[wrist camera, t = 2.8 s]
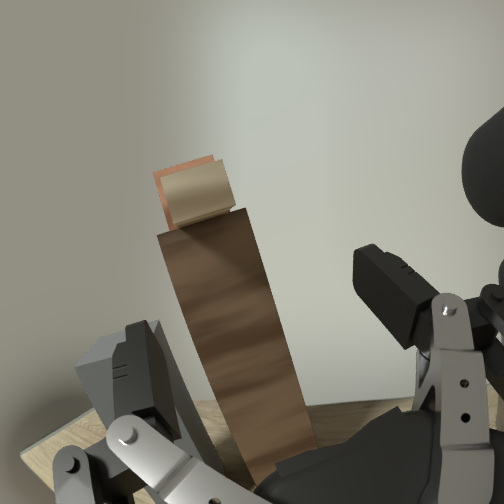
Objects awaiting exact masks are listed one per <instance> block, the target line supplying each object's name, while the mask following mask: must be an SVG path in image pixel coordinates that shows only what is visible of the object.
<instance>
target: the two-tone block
mask: <svg viewBox="0 0 504 504" xmlns="http://www.w3.org/2000/svg"><path fill="white" fill-rule="evenodd" d="M153 175H154V178H155V182H156V186H157V189H158V193H159V196H160V200H161V203H162V207H163V210H164V213H165V216H166V220H167V223H168V227H169V230H170V231H172V230H175V229H178V228H181V227H184V226H187V225H190V224H193V223H197V222H200V221H203V220H206V219H209V218H213V217H216V216H219V215H222V214H226V213H229V212H230V209H231V208H232V207H233V206H235V205H236V203H235V200H234V197H233V193H232V190H231V187H230V184H229V181H228V177H227V174H226V171H225V168H224V164H223V161H222V159H221V160H217V161H214V158H213V155H210V156H206V157H203V158H199V159H195V160H192V161H189V162H186V163H182V164H179V165H176V166H172V167H169V168H166V169H163V170H160V171H157V172H153Z"/></svg>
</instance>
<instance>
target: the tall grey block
mask: <svg viewBox="0 0 504 504" xmlns="http://www.w3.org/2000/svg"><path fill="white" fill-rule="evenodd" d="M148 324H149V326H150V328H151V330H152V332H153V333H154V335H155V337H156V339H157V341H158V343H159V344H160V346H161V348H162V350H163V353H164V356H165V359H166V363H167V369H168V374H169V380H170V385H171V390H172V395H173V400H174V405H175V410H176V414H177V419H178V424H179V428H180V432H181V437H182V439H178V440H174V441H173V442H174V445H176V446H177V447H178V448H180V449H181V450H183V451H184V452H185V453H187V454H188V455H190V456H194V457H195V458H197V459H198V460H200V461H202V462H203V463H205V464H206V465H208V466H209V467H211V468H212V469H214V470H215V471H217V472H218V473H220V474H221V475H223V476H225V474H224V469H223V463H222V461H221V459H220V457H219V455H218V453H217V451H216V449H215V447H214V445H213V443H212V441H211V439H210V437H209V435H208V433H207V431H206V429H205V427H204V425H203V423H202V421H201V418H200V416H199V414H198V412H197V410H196V408H195V405H194V403H193V401H192V399H191V397H190V394H189V392H188V390H187V388H186V385H185V383H184V381H183V378H182V376H181V374H180V371H179V369H178V367H177V364H176V362H175V360H174V357H173V355H172V352H171V350H170V347H169V345H168V342H167V339H166V337H165V335H164V332H163V329H162V327H161V324H160V321H159V320H156V321H153V322H150V323H148ZM124 341H126V334H125V330H123V331H120V332H117V333H114V334H110V335H107V336H104V337H100V338H99V339H98V340H97V342H96V343H95V344H94V345H93V346H92V347H91V348H90V350H89V351H88V352H87V353H86V354H85V356H84V357H83V358H82V359H81V360H80V361H79V362H78V363H77V365H76V366H75V370H76V372H77V374H78V376H79V378H80V380H81V382H82V385H83V387H84V389H85V391H86V392H87V395H88V397H89V398H90V400H91V402H92V404H93V406H94V408H95V410H96V412H97V414H98V415H99V417H100V419H101V421H102V423H103V424H104V426H105V428H106V430H108V428H109V426H110V425H111V424H112V422H113V421H114V401H113V378H112V371H113V369H112V355H113V352H114V350H115V348H116V345H117V343H121V342H124ZM144 488H145V490H146V491H147V492H148V494H149V495H150V496H151V498H152V499H153V500H154V502H155V503H156V504H168V503H167V502H166V501H164V500H163V499H162V498H161V497H160V496H159V495H158V494H157V492H156V491H155V490H154V489H153V488H152V487H150V486H149V485H147V486H146V487H144Z"/></svg>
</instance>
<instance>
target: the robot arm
mask: <svg viewBox="0 0 504 504" xmlns="http://www.w3.org/2000/svg"><path fill="white" fill-rule="evenodd" d="M462 183H463V188H464V191H465V194H466V197H467V199H468V201H469V203H470V204H471V206H472V207H473V209H474V210H475V211H476V213H477V214H478V215H479V216H480V217H481V218H483V219H484V220H485V221H487V222H489V223H491V224H492V225H495V226H498V227H504V107H503V108H502V109H501V110H500V111H499V112H497V113H496V114H495V115H494V116H493V117H492V118H491V119H489V120H488V121H487V122H485V123H484V124H483V125H482V126H481V127H479V128H478V129H477V130H476V131H475V132H474V133H473V135H472V136H471V137H470V139H469V141H468V143H467V145H466V148H465V151H464V155H463V160H462ZM498 277H499V285H496V284H489V285H486V286H484V287H483V288H482V291H481V293H480V296H479V297H476V298H471V299H467V300H463V299H461V298H460V297H459V296H457V295H455V294H451V293H442V294H440V293H439V292H438V291H437V290H436V289H435V288H434V287H433V286H431V285H430V284H429V283H428V282H427V281H426V280H425V279H424V278H423V277H422V276H420V275H419V274H418V273H417V272H415V270H413V269H412V268H411V267H410V266H408V264H407V263H406V262H404V261H403V260H402V259H401V258H400V257H398V256H396V255H394V254H391V253H389V252H385V253H384V252H383V251H382V250H381V249H379V248H378V247H377V246H376V245H375V244H369V245H367V246H364V247H361V248H358V249H356V250H355V251H354V255H353V286H354V289H355V291H356V293H357V295H358V296H359V297H360V298H361V299H362V300H363V302H364V303H365V304H366V305H367V306H368V307H369V308H370V310H371V311H372V312H373V313H374V314H375V315H376V317H377V318H378V319H379V320H380V321H381V322H382V324H383V325H384V326H385V327H386V328H387V329H388V331H389V332H390V333H391V334H392V335H393V336H394V338H395V339H396V340H397V341H398V342H399V344H400V345H401V346H402V347H403V348H404V350H406V349H408V348H410V347H411V346H413V345H415V346H416V347H417V348H418V349H417V353H416V388H415V397H414V402H413V405H412V410H411V411H406V412H401V410H400V409H399V407H398V406H397V407H395V408H393V409H392V410H390V411H388V412H386V413H384V414H383V415H381V416H379V417H377V418H375V419H373V420H371V421H370V422H369V423H368V424H367V425H365V426H364V427H363V428H362V429H361V430H360V431H358V432H357V433H356V434H355V435H354V436H352V437H351V438H350V439H349V440H348V441H346V442H345V443H343V444H339V445H335V446H330V447H325V448H319V449H314V450H308V451H305V452H303V453H300V454H298V455H295V456H293V457H290V458H287V459H285V460H282V461H279V462H277V463H274V464H275V467H276V469H277V470H276V471H274V472H273V473H271V474H270V475H269V476H267V477H266V478H265V479H264V480H263V481H262V482H261V483H260V484H259V485H258V486H257V487H256V489H255V490H254V491H253V493H252V492H250V491H248V490H246V489H245V488H243V487H241V486H240V485H238V484H236V483H235V482H233V481H231V480H230V479H228V478H226V477H225V476H223V475H221V474H220V473H218V472H217V471H215V470H214V469H212V468H211V467H209V466H208V465H206V464H205V463H203V462H202V461H200V460H198V459H197V458H195V457H194V456H190V455H188V454H187V453H185V452H184V451H183V450H181V449H180V448H178V447H177V446H176V445H174V442H173V441H174V440H178V439H182V437H181V432H180V428H179V424H178V419H177V414H176V410H175V405H174V400H173V395H172V390H171V385H170V380H169V374H168V369H167V363H166V359H165V356H164V353H163V350H162V348H161V346H160V344H159V343H158V341H157V339H156V337H155V335H154V333H153V332H152V330H151V328H150V326H149V324H148V322H147V321H146V320H143V321H140V322H137V323H133V324H130V325H127V326H126V329H125V334H126V341H124V342H121V343H117V345H116V348H115V350H114V352H113V355H112V369H113V371H112V378H113V401H114V421H113V422H112V424H111V425H110V426H109V428H108V430H107V434H106V437H105V438H104V439H102V440H101V441H99V442H97V443H95V444H94V445H92V446H90V447H88V448H86V449H84V450H82V449H81V448H80V447H78V446H74V445H70V446H65V447H63V448H62V449H60V450H59V451H58V452H57V454H56V455H55V457H54V460H53V479H54V490H55V499H56V504H135V501H134V497H133V493H135V492H136V491H138V490H140V489H142V488H144V487H146V486H147V485H149V486H150V487H152V488H153V489H154V490H155V491H156V492H157V494H158V495H159V496H160V497H161V498H162V499H163V500H164V501H166V502H167V503H168V504H504V260H503V261H502V263H501V265H500V267H499V275H498ZM498 332H500V333H501V337H502V343H501V342H500V341H499V340H498V339H497V338H496V336H497V334H498ZM486 378H487V380H488V381H489V382H490V384H491V385H492V386H493V388H494V389H495V390H496V392H497V393H498V394H499V397H498V406H497V415H496V426H497V429H498V430H495V429H491V428H489V413H488V398H487V386H486Z"/></svg>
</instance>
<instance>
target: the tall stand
mask: <svg viewBox="0 0 504 504" xmlns="http://www.w3.org/2000/svg"><path fill="white" fill-rule="evenodd" d="M157 238H158V241H159V244H160V247H161V251H162V254H163V257H164V260H165V262H166V266H167V269H168V272H169V275H170V278H171V281H172V284H173V287H174V290H175V293H176V296H177V299H178V301H179V304H180V307H181V310H182V313H183V316H184V318H185V321H186V324H187V326H188V329H189V332H190V334H191V337H192V340H193V342H194V345H195V347H196V350H197V353H198V355H199V358H200V361H201V363H202V366H203V368H204V371H205V373H206V376H207V378H208V380H209V383H210V385H211V388H212V390H213V392H214V395H215V397H216V400H217V402H218V404H219V407H220V409H221V411H222V414H223V416H224V418H225V420H226V423H227V425H228V427H229V429H230V432H231V434H232V436H233V438H234V440H235V442H236V445H237V447H238V449H239V451H240V453H241V455H242V457H243V459H244V462H245V464H246V466H247V468H248V470H249V472H250V474H251V476H252V478H253V480H254V482H255V484H256V486H258V485H259V484H260V483H261V482H262V481H263V480H264V479H265V478H266V477H267V476H269V475H270V474H271V473H273V472H274V471H276V470H277V469H276V467H275V464H274V463H277V462H279V461H282V460H285V459H287V458H290V457H293V456H295V455H298V454H300V453H303V452H305V451H308V450H314V449H318V446H317V442H316V439H315V436H314V432H313V429H312V425H311V422H310V419H309V415H308V412H307V408H306V405H305V402H304V398H303V395H302V392H301V388H300V385H299V382H298V378H297V375H296V372H295V368H294V365H293V362H292V358H291V355H290V352H289V348H288V345H287V342H286V338H285V335H284V332H283V329H282V325H281V322H280V318H279V315H278V312H277V309H276V306H275V302H274V299H273V295H272V292H271V289H270V285H269V282H268V279H267V276H266V272H265V269H264V266H263V262H262V259H261V256H260V253H259V249H258V246H257V243H256V240H255V236H254V233H253V230H252V227H251V224H250V220H249V217H248V214H247V210H246V208H242V209H239V210H236V211H232V212H229V213H226V214H222V215H219V216H216V217H213V218H209V219H206V220H203V221H200V222H197V223H193V224H190V225H187V226H184V227H181V228H178V229H175V230H172V231H169V232H166V233H162V234H159V235H157Z"/></svg>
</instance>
